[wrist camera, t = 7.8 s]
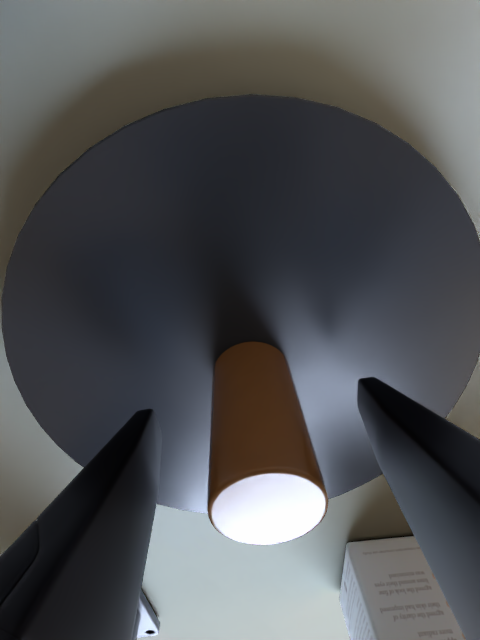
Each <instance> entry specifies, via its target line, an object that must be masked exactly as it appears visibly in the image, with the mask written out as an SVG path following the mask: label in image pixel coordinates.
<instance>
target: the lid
mask: <svg viewBox="0 0 480 640" xmlns="http://www.w3.org/2000/svg"><path fill="white" fill-rule="evenodd" d="M2 332H3V338H4V345H5V351H6V356H7V359H8V363H9V366H10V369H11V372H12V375H13V378H14V381H15V383H16V385H17V387H18V389H19V391H20V393H21V395H22V397H23V399H24V401H25V403H26V405H27V407H28V408H29V410H30V411H31V413H32V414H33V416H34V417H35V419H36V420H37V422H38V423H39V425H40V426H41V427H42V428H43V430H44V431H45V432H46V433H47V434H48V435H49V436H50V438H51V439H52V440H53V441H54V442H55V443H56V444H57V445H58V446H59V447H60V448H61V449H62V450H63V451H64V452H65V453H67V454H68V455H69V456H70V457H71V458H72V459H73V460H74V461H75V462H77V463H78V464H80V465H81V466H82V467H85V466H86V465H87V464H88V463H89V462H90V461H91V460H92V459H93V458H94V457H95V456H96V454H97V453H98V452H99V451H100V450H101V449H102V448H103V447H104V446H105V445H106V444H107V443H108V442H109V441H110V440H111V438H112V437H113V436H114V435H115V434H116V433H117V432H118V431H119V430H120V429H121V428H122V427H123V426H124V425H125V424H126V422H127V421H128V420H129V419H130V418H131V417H132V416H133V415H134V414H135V413H136V412H137V411H139V410H144V409H153V410H154V412H155V414H156V417H157V420H158V423H159V425H160V428H161V432H162V446H161V460H160V475H159V488H158V497H157V504H160V505H164V506H168V507H172V508H176V509H181V510H186V511H193V512H199V513H207V514H208V516H209V519H210V521H211V523H212V525H213V526H214V528H215V529H216V530H217V531H218V532H220V533H221V534H222V535H224V536H226V537H227V538H230V539H232V540H234V541H237V542H241V543H246V544H253V545H270V544H278V543H283V542H287V541H290V540H293V539H296V538H298V537H301V536H303V535H304V534H306V533H308V532H309V531H311V530H312V529H314V528H315V527H316V526H317V525H318V524H319V523H320V522H321V521H322V519H323V518H324V516H325V514H326V512H327V508H328V499H330V498H333V497H336V496H339V495H342V494H344V493H346V492H348V491H350V490H353V489H355V488H357V487H359V486H362V485H363V484H365V483H367V482H369V481H371V480H372V479H374V478H376V477H378V476H380V475H381V474H383V472H382V470H381V468H380V466H379V464H378V461H377V459H376V456H375V454H374V451H373V448H372V445H371V443H370V440H369V437H368V434H367V432H366V429H365V426H364V424H363V421H362V418H361V415H360V413H359V410H358V405H357V389H358V380H359V379H361V378H367V377H375V378H377V379H379V380H381V381H382V382H384V383H386V384H387V385H389V386H391V387H392V388H394V389H396V390H397V391H399V392H401V393H402V394H404V395H406V396H407V397H409V398H411V399H412V400H414V401H416V402H417V403H419V404H421V405H422V406H424V407H426V408H427V409H429V410H431V411H432V412H434V413H436V414H438V415H439V416H441V417H443V418H444V419H445V417H446V416H447V415H448V414H449V412H450V411H451V410H452V409H453V407H454V405H455V404H456V402H457V400H458V399H459V397H460V396H461V394H462V392H463V391H464V389H465V388H466V386H467V383H468V381H469V379H470V377H471V375H472V372H473V370H474V368H475V366H476V364H477V361H478V357H479V354H480V241H479V238H478V235H477V232H476V229H475V226H474V224H473V222H472V220H471V218H470V216H469V215H468V213H467V211H466V209H465V207H464V205H463V204H462V202H461V200H460V198H459V196H458V195H457V193H456V192H455V191H454V190H453V188H452V187H451V186H450V185H449V183H448V182H447V181H446V180H445V178H444V177H443V176H442V175H441V173H440V172H439V171H438V170H437V168H436V167H435V166H434V165H432V164H431V163H430V162H429V161H428V160H427V159H426V158H424V157H423V156H422V155H421V154H420V153H419V152H418V151H417V150H415V149H414V148H413V147H412V146H411V145H410V144H409V143H407V142H406V141H404V140H402V139H401V138H399V137H398V136H396V135H394V134H393V133H391V132H389V131H388V130H386V129H385V128H383V127H381V126H380V125H378V124H377V123H375V122H372V121H370V120H368V119H365V118H363V117H360V116H358V115H355V114H353V113H351V112H348V111H346V110H343V109H341V108H338V107H335V106H331V105H326V104H322V103H318V102H313V101H309V100H305V99H300V98H296V97H283V96H268V95H253V94H250V95H239V96H228V97H216V98H206V99H202V100H198V101H194V102H190V103H186V104H183V105H179V106H175V107H171V108H167V109H163V110H161V111H159V112H156V113H154V114H152V115H149V116H147V117H144V118H142V119H140V120H137V121H135V122H133V123H130V124H128V125H126V126H124V127H122V128H121V129H119V130H117V131H116V132H114V133H113V134H111V135H109V136H108V137H106V138H105V139H103V140H102V141H100V142H98V143H97V144H95V145H94V146H92V147H90V148H89V149H88V150H87V151H85V152H84V153H83V154H82V155H81V156H80V157H79V158H78V159H76V160H75V161H74V162H73V163H72V164H71V165H70V166H69V167H67V168H66V169H65V170H64V171H63V172H62V173H61V174H60V175H59V176H58V177H57V178H56V179H55V181H54V182H53V183H52V184H51V186H50V187H49V188H48V189H47V191H46V192H45V193H44V194H43V196H42V197H41V198H40V199H39V201H38V202H37V203H36V204H35V206H34V208H33V210H32V211H31V213H30V215H29V217H28V219H27V220H26V222H25V224H24V226H23V228H22V229H21V231H20V233H19V235H18V237H17V240H16V243H15V246H14V249H13V252H12V254H11V257H10V260H9V263H8V266H7V271H6V277H5V282H4V288H3V294H2Z"/></svg>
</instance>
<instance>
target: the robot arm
mask: <svg viewBox="0 0 480 640" xmlns="http://www.w3.org/2000/svg"><path fill="white" fill-rule="evenodd" d="M357 405H358V410H359V413H360V415H361V418H362V421H363V424H364V426H365V429H366V432H367V434H368V437H369V440H370V443H371V445H372V448H373V451H374V454H375V456H376V459H377V461H378V464H379V466H380V468H381V470H382V472H383V474H384V476H385V478H386V480H387V482H388V484H389V486H390V488H391V490H392V492H393V494H394V496H395V498H396V500H397V502H398V504H399V506H400V508H401V510H402V512H403V514H404V516H405V518H406V520H407V522H408V524H409V526H410V528H411V530H412V532H413V535H414V537H415V539H416V541H417V543H418V545H419V547H420V549H421V551H422V553H423V555H424V557H425V559H426V561H427V563H428V565H429V567H430V569H431V571H432V573H433V575H434V577H435V579H436V581H437V583H438V585H439V587H440V589H441V591H442V593H443V595H444V597H445V599H446V601H447V603H448V605H449V607H450V609H451V611H452V613H453V615H454V617H455V619H456V621H457V623H458V625H459V627H460V629H461V631H462V633H463V635H464V637H465V639H466V640H480V440H479V439H478V438H476V437H474V436H473V435H471V434H469V433H468V432H466V431H464V430H463V429H461V428H459V427H458V426H456V425H454V424H453V423H451V422H449V421H448V420H446V419H444V418H443V417H441V416H439V415H438V414H436V413H434V412H432V411H431V410H429V409H427V408H426V407H424V406H422V405H421V404H419V403H417V402H416V401H414V400H412V399H411V398H409V397H407V396H406V395H404V394H402V393H401V392H399V391H397V390H396V389H394V388H392V387H391V386H389V385H387V384H386V383H384V382H382V381H381V380H379V379H377V378H375V377H367V378H361V379H359V380H358V389H357ZM161 446H162V432H161V428H160V425H159V423H158V420H157V417H156V414H155V412H154V410H153V409H144V410H139V411H137V412H136V413H135V414H134V415H133V416H132V417H131V418H130V419H129V420H128V421H127V422H126V424H125V425H124V426H123V427H122V428H121V429H120V430H119V431H118V432H117V433H116V434H115V435H114V436H113V437H112V438H111V440H110V441H109V442H108V443H107V444H106V445H105V446H104V447H103V448H102V449H101V450H100V451H99V452H98V453H97V454H96V456H95V457H94V458H93V459H92V460H91V461H90V462H89V463H88V464H87V465H86V466H85V467H84V468H83V469H82V471H81V472H80V473H79V474H78V475H77V476H76V477H75V478H74V479H73V480H72V481H71V482H70V483H69V484H68V485H67V487H66V488H65V489H64V490H63V491H62V492H61V493H60V494H59V495H58V496H57V497H56V498H55V499H54V500H53V501H52V503H51V504H50V505H49V506H48V507H47V508H46V509H45V510H44V511H43V512H42V513H41V514H40V515H39V516H38V518H37V521H34V522H33V523H32V524H31V525H30V526H29V527H28V528H27V529H26V530H25V531H24V532H23V533H22V534H21V535H20V537H19V538H18V539H17V540H16V541H15V542H14V543H13V544H12V545H11V546H10V547H9V548H8V549H7V550H6V551H5V552H4V553H3V554H2V555H1V556H0V640H137V638H139V637H147V636H154V635H157V634H158V633H159V627H160V622H159V620H158V618H157V617H156V615H155V613H154V611H153V610H152V608H151V606H150V604H149V602H148V601H147V599H146V597H145V595H144V594H143V592H142V590H141V586H142V580H143V575H144V569H145V564H146V558H147V553H148V547H149V542H150V536H151V531H152V525H153V520H154V514H155V508H156V503H157V497H158V488H159V475H160V460H161Z"/></svg>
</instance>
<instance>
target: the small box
mask: <svg viewBox="0 0 480 640" xmlns="http://www.w3.org/2000/svg"><path fill="white" fill-rule="evenodd" d="M339 600H340V604H341V608H342V612H343V615H344V619H345V623H346V626H347V630H348V634H349V637H350V640H466V639H465V637H464V635H463V633H462V631H461V629H460V627H459V625H458V623H457V621H456V619H455V617H454V615H453V613H452V611H451V609H450V607H449V605H448V603H447V601H446V599H445V597H444V595H443V593H442V591H441V589H440V587H439V585H438V583H437V581H436V579H435V577H434V575H433V573H432V571H431V569H430V567H429V565H428V563H427V561H426V559H425V557H424V555H423V553H422V551H421V549H420V547H419V545H418V543H417V541H416V539H415V537H414V536H410V537H399V538H388V539H378V540H368V541H359V542H349V543H347V546H346V553H345V560H344V567H343V575H342V582H341V589H340V596H339Z"/></svg>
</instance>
